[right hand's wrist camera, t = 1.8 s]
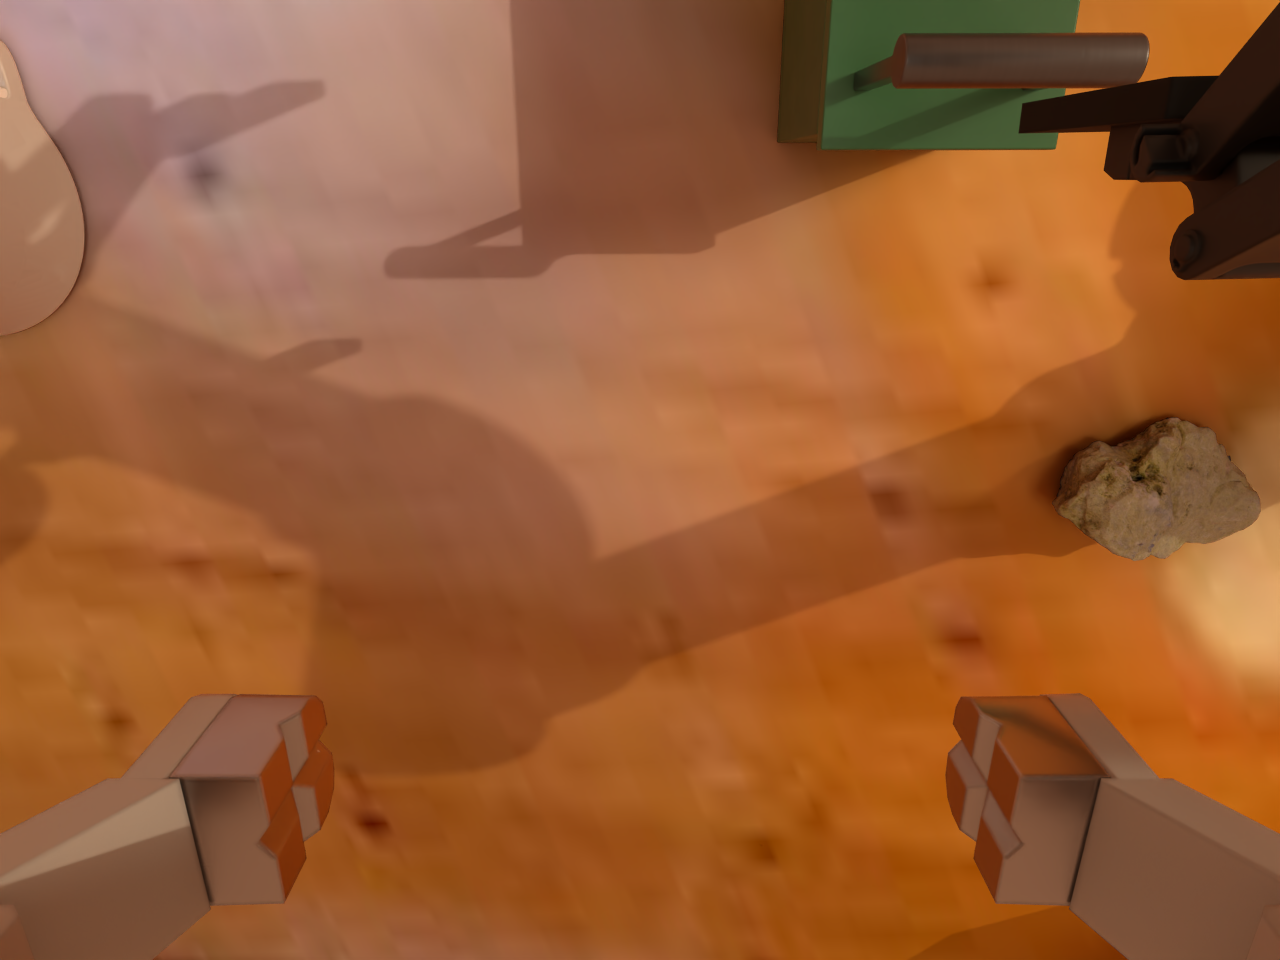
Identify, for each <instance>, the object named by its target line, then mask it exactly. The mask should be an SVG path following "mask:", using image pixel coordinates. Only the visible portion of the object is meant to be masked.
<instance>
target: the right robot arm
mask: <svg viewBox="0 0 1280 960" xmlns="http://www.w3.org/2000/svg"><path fill="white" fill-rule="evenodd" d="M84 239H85V233H84V220H83V213H82V207H81V203H80V199H79V195H78V192H77V189H76V186H75V183H74V180H73V178H72V176H71V173H70V171H69V169H68V167H67V165H66V163H65V161H64V159H63V157H62V155H61V154H60V152H59V150H58V149H57V147H56V145H55V144H54V142H53V141H52V139H51V138H50V137H49V135H48V134H47V132H46V131H45V130H44V128H43V127H42V125H41V124H40V122H39V121H38V120H37V118H36V116H35V115H34V113H33V112H32V110H31V108H30V106H29V104H28V102H27V99H26V95H25V91H24V88H23V85H22V81H21V78H20V75H19V72H18V69H17V66H16V63H15V61H14V59H13V56H12V55H11V53H10V51H9V49H8V48H7V46H6V45H5V44H4V43H3V42H2V41H1V40H0V336H2V335H8V334H12V333H16V332H19V331H23V330H25V329H28V328H30V327H32V326H34V325H36V324H38V323H40V322H41V321H43V320H44V319H46V318H47V317H48V316H50V315H51V314H52V313H53V312H54V311H55V310H56V309H57V308H58V307H59V306H60V305H61V304H62V303H63V302H64V300H65V299H66V298H67V296H68V295H69V293H70V291H71V290H72V288H73V286H74V284H75V282H76V279H77V277H78V274H79V271H80V267H81V264H82V259H83V253H84ZM326 725H327V720H326V715H325V710H324V706H323V702H322V701H321V700H320V699H319V698H318V697H317V696H304V695H257V694H240V695H236V694H200V695H197V696H194V697H191V698H190V699H189V700H188V701H187V703H186V704H185V705H184V706H183V707H182V708H181V710H180V711H179V712H178V713H177V714H176V715H175V716H174V718H173V719H172V720H171V721H170V722H169V723H168V724H167V726H166V727H165V728H164V729H163V730H162V731H161V733H160V734H159V735H158V736H157V737H156V738H155V739H154V741H153V742H152V743H151V744H150V745H149V746H148V747H147V749H146V750H145V751H144V752H143V753H142V754H141V756H140V757H139V758H138V759H137V760H136V761H135V762H134V764H133V765H132V766H131V767H130V768H129V769H128V771H127V772H126V773H125V774H124V775H123V776H122V777H121V779H106V780H104V781H102V782H100V783H98V784H96V785H94V786H92V787H90V788H89V789H87V790H85V791H83V792H81V793H79V794H77V795H75V796H73V797H71V798H69V799H67V800H65V801H63V802H61V803H59V804H57V805H55V806H54V807H52V808H50V809H48V810H46V811H44V812H42V813H40V814H38V815H36V816H34V817H32V818H30V819H28V820H26V821H24V822H22V823H20V824H19V825H17V826H15V827H13V828H11V829H9V830H7V831H5V832H3V833H1V834H0V960H152V959H153V958H155V957H156V956H157V955H158V954H159V953H160V952H162V951H163V950H164V949H165V948H166V947H167V946H169V945H170V944H171V943H172V942H173V941H174V940H176V939H177V938H178V937H179V936H180V935H181V934H183V933H184V932H185V931H186V930H187V929H188V928H190V927H191V926H192V925H193V924H194V923H196V922H197V921H198V920H199V919H200V918H201V917H203V916H204V915H205V914H206V913H207V912H208V911H210V909H211V908H210V906H213V905H247V904H281V903H285V901H286V899H287V897H288V895H289V893H290V891H291V889H292V887H293V885H294V883H295V881H296V879H297V876H298V874H299V872H300V870H301V868H302V866H303V864H304V862H305V860H306V853H305V847H304V841H306V840H307V839H308V838H310V837H311V836H313V835H314V834H315V833H317V832H318V831H319V830H321V827H322V825H323V823H324V821H325V819H326V817H327V814H328V812H329V808H330V804H331V799H332V795H333V790H334V764H333V757H332V753H331V752H330V751H329V750H328V749H327V748H326V747H325V745H324V744H323V743H322V742H321V741H320V740H319V738H320V736H321V734H322V732H323V731H324V729H325V727H326ZM953 725H954V727H955V729H956V730H957V732H958V734H959V736H960V738H961V740H960V741H959V742H958V743H957V744H956V746H955V747H954V748H953V749H952V750H951V751H950V752H949V753H948V758H947V766H946V774H945V776H946V787H947V798H948V801H949V805H950V808H951V812H952V815H953V817H954V819H955V821H956V823H957V825H958V827H959V830H961V831H962V832H963V833H965V834H966V835H967V836H969V837H970V838H972V839H973V840H974V841H976V847H975V853H974V860H975V862H976V864H977V866H978V868H979V870H980V872H981V874H982V876H983V878H984V880H985V882H986V884H987V886H988V888H989V890H990V892H991V894H992V896H993V898H994V901H995V903H997V904H1032V905H1067V906H1070V908H1069V909H1070V910H1071V911H1072V912H1073V913H1074V914H1076V915H1077V916H1078V917H1079V918H1080V919H1081V920H1083V921H1084V922H1085V923H1086V924H1087V925H1088V926H1090V927H1091V928H1092V929H1093V930H1094V931H1095V932H1097V933H1098V934H1099V935H1100V936H1101V937H1102V938H1104V939H1105V940H1106V941H1107V942H1108V943H1109V944H1111V945H1112V946H1113V947H1114V948H1115V949H1116V950H1118V951H1119V952H1120V953H1121V954H1122V955H1123V956H1125V957H1126V958H1127V959H1128V960H1280V834H1279V833H1277V832H1275V831H1273V830H1271V829H1269V828H1267V827H1265V826H1263V825H1261V824H1259V823H1257V822H1255V821H1253V820H1252V819H1250V818H1248V817H1246V816H1244V815H1242V814H1240V813H1238V812H1236V811H1234V810H1232V809H1230V808H1228V807H1226V806H1224V805H1222V804H1221V803H1219V802H1217V801H1215V800H1213V799H1211V798H1209V797H1207V796H1205V795H1203V794H1201V793H1199V792H1197V791H1195V790H1193V789H1191V788H1190V787H1188V786H1186V785H1184V784H1182V783H1180V782H1178V781H1176V780H1174V779H1159V777H1158V776H1157V775H1156V774H1155V773H1154V772H1153V771H1152V769H1151V768H1150V767H1149V766H1148V765H1147V764H1146V762H1145V761H1144V760H1143V759H1142V758H1141V757H1140V756H1139V754H1138V753H1137V752H1136V751H1135V750H1134V749H1133V748H1132V746H1131V745H1130V744H1129V743H1128V742H1127V741H1126V739H1125V738H1124V737H1123V736H1122V735H1121V734H1120V733H1119V731H1118V730H1117V729H1116V728H1115V727H1114V726H1113V725H1112V723H1111V722H1110V721H1109V720H1108V719H1107V718H1106V716H1105V715H1104V714H1103V713H1102V712H1101V711H1100V710H1099V708H1098V707H1097V706H1096V705H1095V704H1094V703H1093V702H1092V700H1091V699H1090V698H1088V697H1086V696H1084V695H1082V694H1080V693H1079V694H1047V695H1040V696H978V697H961V698H960V700H959V702H958V704H957V706H956V709H955V714H954V720H953Z"/></svg>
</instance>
